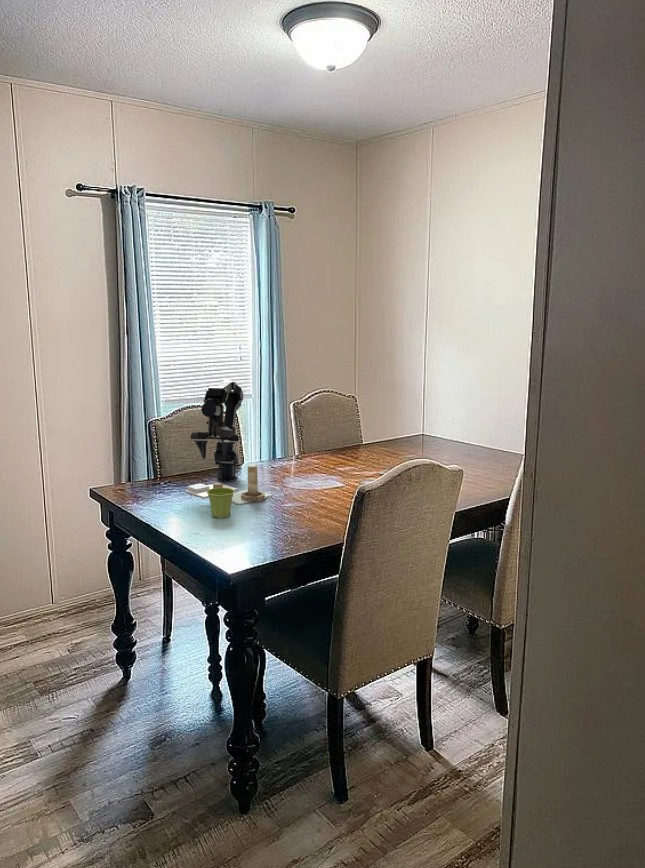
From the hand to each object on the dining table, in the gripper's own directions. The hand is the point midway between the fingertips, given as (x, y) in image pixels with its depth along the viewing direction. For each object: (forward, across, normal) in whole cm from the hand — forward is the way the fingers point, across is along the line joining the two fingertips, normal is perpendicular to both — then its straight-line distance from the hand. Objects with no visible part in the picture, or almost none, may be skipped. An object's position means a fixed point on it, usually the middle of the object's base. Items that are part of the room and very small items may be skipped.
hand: (214, 459), depth 259 cm
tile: (+12, +1, +2) cm, 13 cm away
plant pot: (+19, -13, -25) cm, 34 cm away
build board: (+14, +6, -15) cm, 21 cm away
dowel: (+14, +6, -18) cm, 23 cm away
